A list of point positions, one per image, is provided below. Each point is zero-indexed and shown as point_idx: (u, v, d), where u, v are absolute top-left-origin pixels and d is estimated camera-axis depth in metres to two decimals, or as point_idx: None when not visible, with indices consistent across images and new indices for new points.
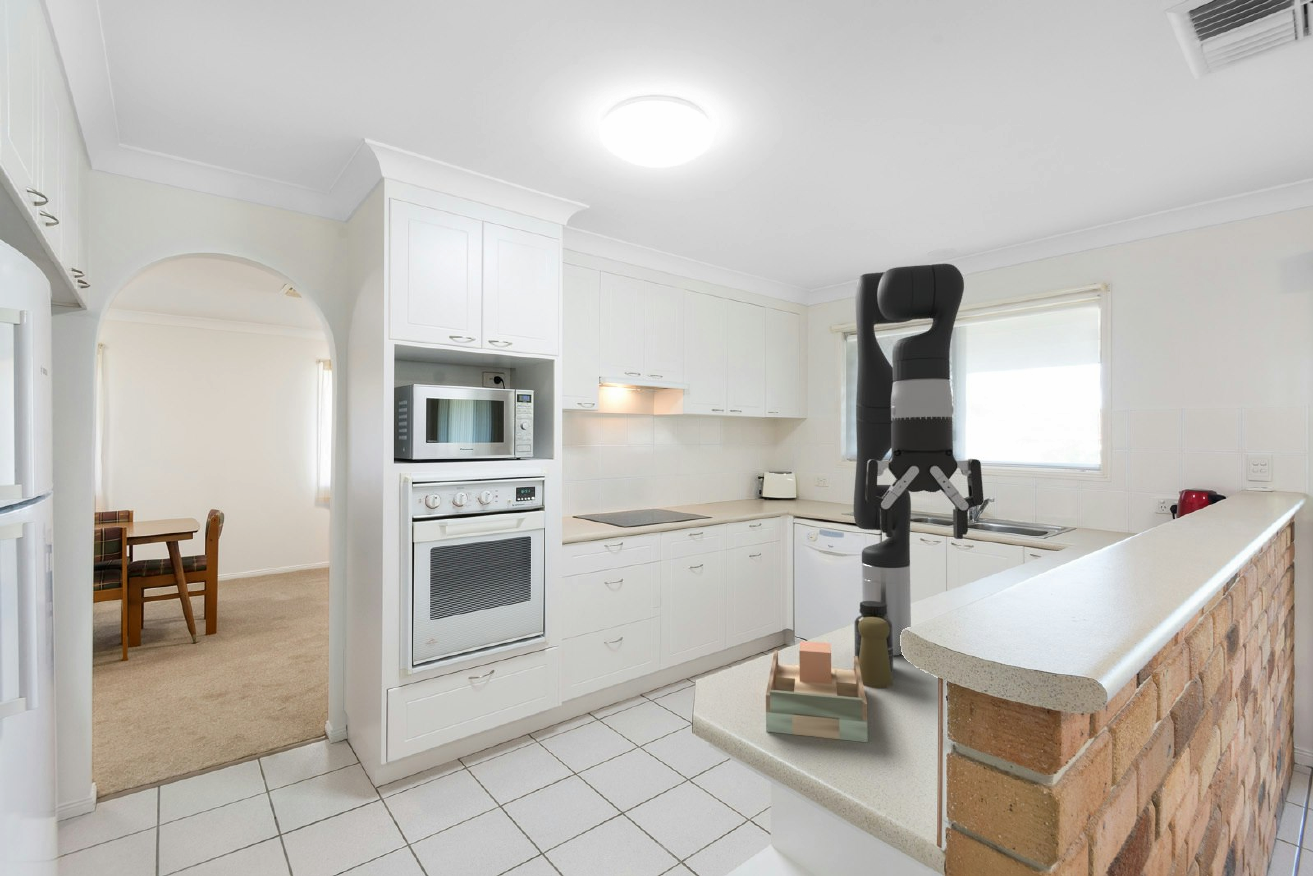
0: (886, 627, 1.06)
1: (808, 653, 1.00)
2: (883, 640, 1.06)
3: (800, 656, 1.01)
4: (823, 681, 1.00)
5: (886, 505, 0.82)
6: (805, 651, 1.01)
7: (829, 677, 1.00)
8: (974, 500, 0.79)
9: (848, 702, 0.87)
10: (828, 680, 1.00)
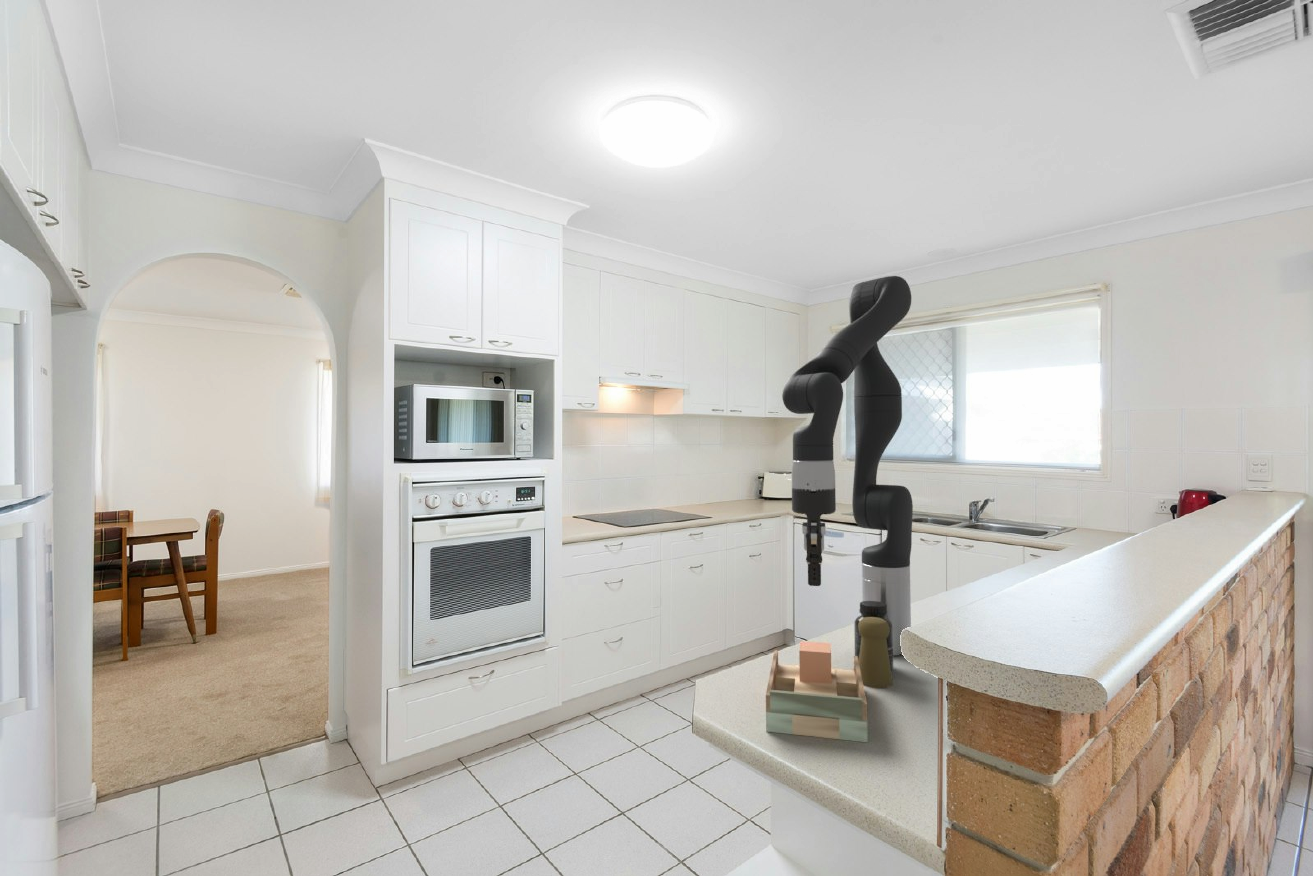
0: (886, 627, 1.06)
1: (808, 653, 1.00)
2: (883, 640, 1.06)
3: (800, 656, 1.01)
4: (823, 681, 1.00)
5: None
6: (805, 651, 1.01)
7: (829, 677, 1.00)
8: (821, 552, 1.12)
9: (848, 702, 0.87)
10: (828, 680, 1.00)
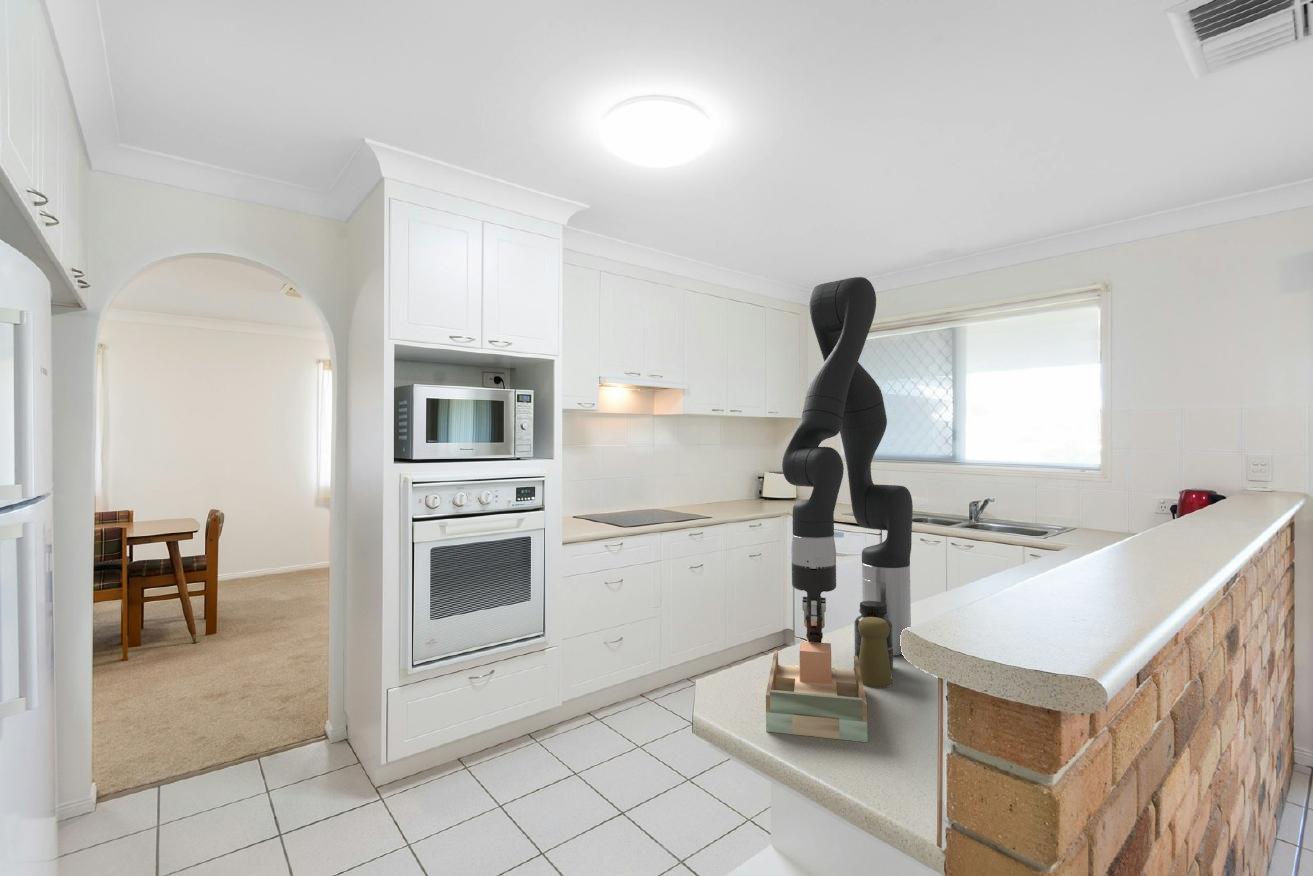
0: (886, 627, 1.06)
1: (808, 653, 1.00)
2: (883, 640, 1.06)
3: (800, 656, 1.01)
4: (823, 681, 1.00)
5: None
6: (805, 651, 1.00)
7: (829, 677, 0.99)
8: (821, 627, 1.09)
9: (848, 702, 0.87)
10: (829, 680, 0.99)
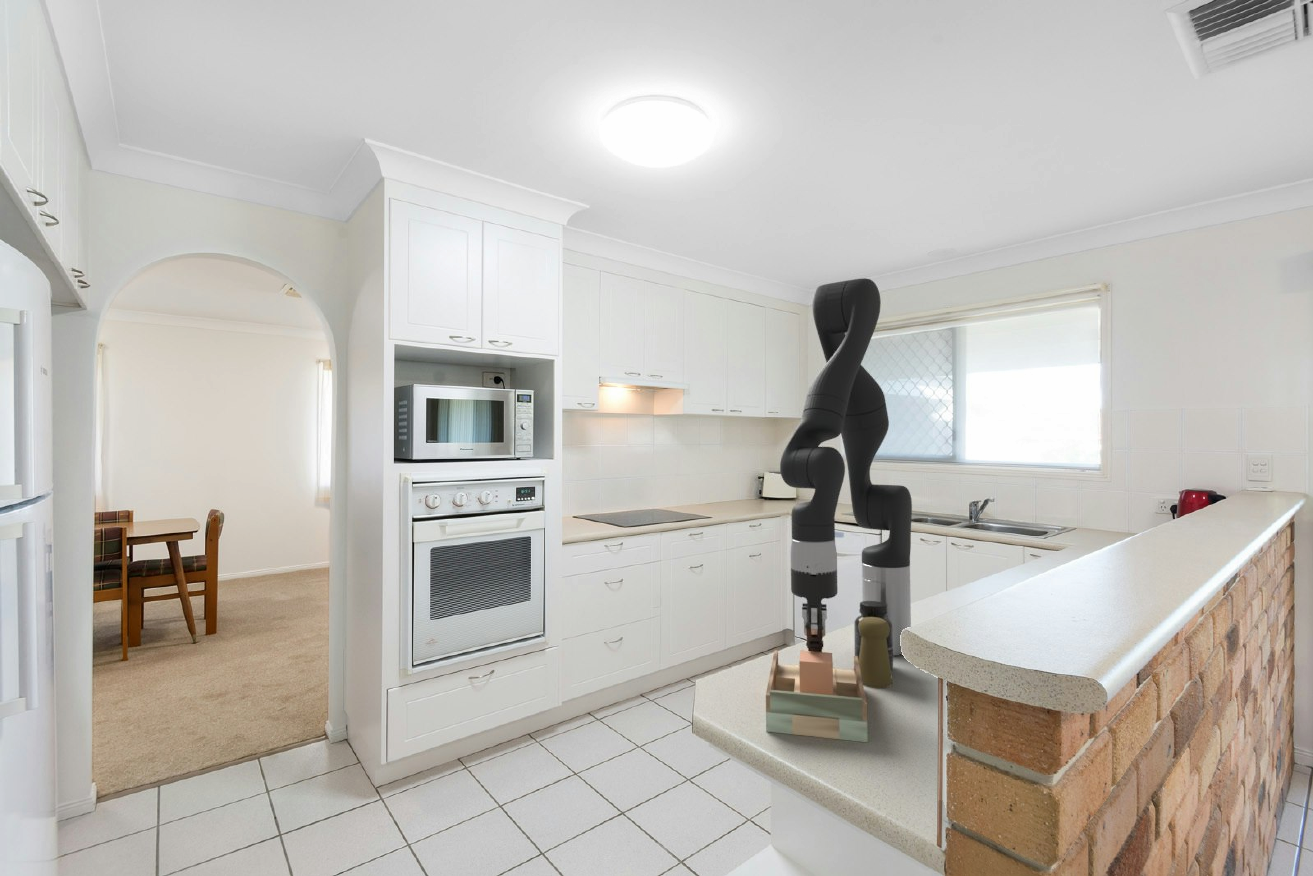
0: (886, 627, 1.06)
1: (808, 664, 0.96)
2: (883, 640, 1.06)
3: (800, 667, 0.96)
4: (824, 693, 0.95)
5: None
6: (805, 662, 0.96)
7: (831, 689, 0.95)
8: None
9: (848, 702, 0.87)
10: (830, 692, 0.95)
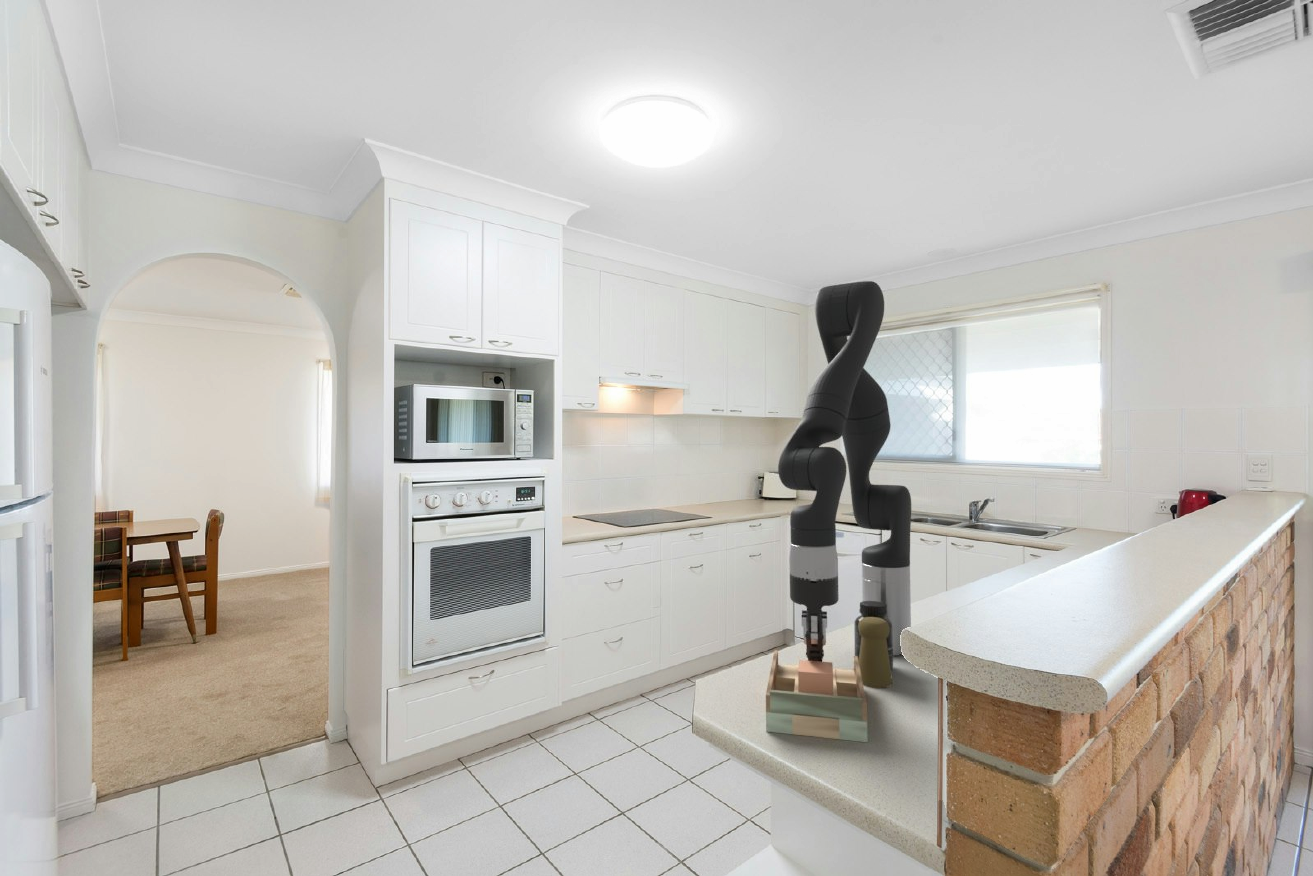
0: (886, 627, 1.06)
1: (808, 674, 0.91)
2: (883, 640, 1.06)
3: (799, 677, 0.92)
4: None
5: None
6: (804, 672, 0.91)
7: None
8: None
9: (848, 702, 0.87)
10: None
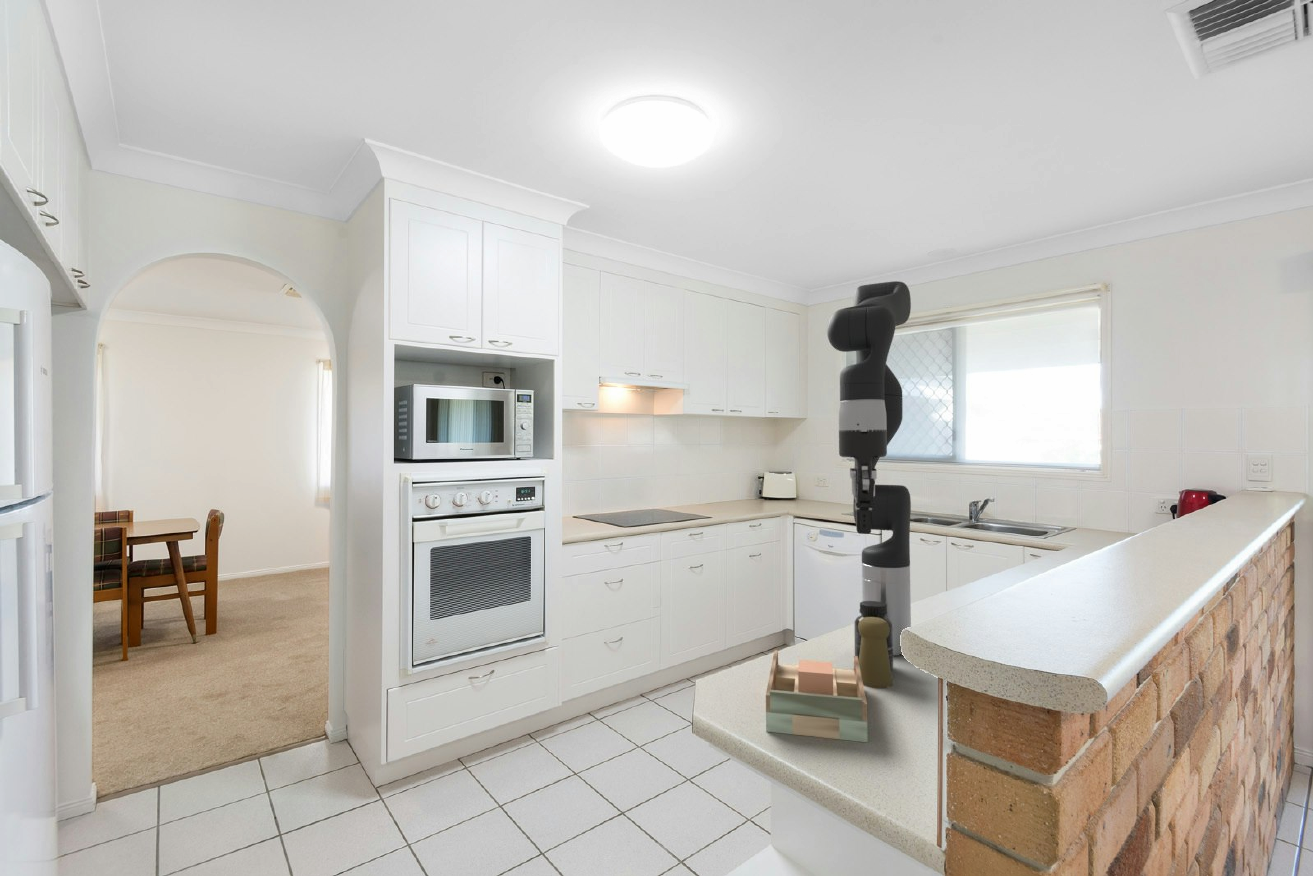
0: (886, 627, 1.06)
1: (808, 674, 0.91)
2: (883, 640, 1.06)
3: (799, 677, 0.92)
4: None
5: None
6: (804, 672, 0.91)
7: None
8: None
9: (848, 702, 0.87)
10: None
